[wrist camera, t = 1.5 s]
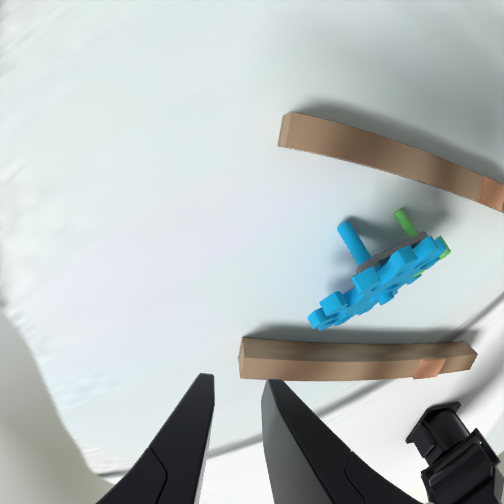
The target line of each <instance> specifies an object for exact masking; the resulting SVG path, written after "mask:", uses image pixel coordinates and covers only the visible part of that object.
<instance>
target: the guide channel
mask: <svg viewBox="0 0 504 504" xmlns="http://www.w3.org/2000/svg"><path fill="white" fill-rule="evenodd" d="M278 146H280V147H285V148H290V149H295V150H300V151H305V152H310V153H314V154H319V155H323V156H327V157H332V158H336V159H340V160H344V161H348V162H352V163H356V164H360V165H364V166H367V167H371V168H375V169H378V170H382V171H385V172H389V173H392V174H396V175H399V176H402V177H406V178H409V179H412V180H415V181H418V182H421V183H425V184H428V185H431V186H434V187H437V188H440V189H442V190H445V191H448V192H451V193H454V194H457V195H459V196H462V197H465V198H467V199H470V200H473V201H475V202H478V203H480V204H483V205H485V206H488V207H490V208H493V209H495V210H498V211H500V212H502V213H504V185H502V184H500V183H498V182H496V181H494V180H492V179H490V178H488V177H486V176H484V177H483V176H481V175H479V174H477V173H475V172H473V171H471V170H468V169H466V168H464V167H462V166H459V165H457V164H455V163H452V162H450V161H448V160H445V159H443V158H440V157H438V156H435V155H433V154H430V153H428V152H425V151H423V150H420V149H417V148H415V147H412V146H409V145H406V144H404V143H401V142H398V141H395V140H392V139H389V138H386V137H383V136H380V135H377V134H374V133H370V132H367V131H364V130H361V129H357V128H354V127H350V126H347V125H343V124H340V123H336V122H332V121H328V120H324V119H320V118H316V117H312V116H308V115H304V114H299V113H295V112H290V113H288V114H286V115H284V116H283V119H282V125H281V130H280V136H279V142H278ZM477 355H478V354H477V353H476V352H475V351H474V350H473V349H472V348H471V347H470V346H469V345H468V344H467V343H466V342H450V343H426V344H339V343H314V342H295V341H280V340H266V339H254V338H243V337H242V341H241V347H240V352H239V357H238V359H239V370H240V378H244V379H260V380H267V379H269V378H273V379H281V380H283V381H358V380H379V379H394V378H406V377H412V378H413V379H422V378H430V377H437V375H438V374H443V373H451V372H458V371H464V370H470V368H471V366H472V364H473V363H474V361H475V359H476V357H477Z"/></svg>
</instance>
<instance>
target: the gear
mask: <svg viewBox="0 0 504 504" xmlns="http://www.w3.org/2000/svg"><path fill="white" fill-rule="evenodd" d="M395 217H396V218H397V220H398V221H399V223H400V224H401V225H402V227H403V228H404V230H405V232H406V233H407V235H408V236H409V238H410V239H408V240H406V241H404V242H402V243H400V244H398V245H396V246H394V247H392V248H390V249H388V250H386V251H384V252H382V253H380V254H378V255H376V256H374V257H371V256H370V254H369V252H368V251H367V249H366V248H365V246H364V244H363V243H362V241H361V239H360V238H359V236H358V235H357V233H356V231H355V230H354V228H353V227H352V225H351V224H350V222H344V223H342V224H341V225H340V226H339V227H338V228H337V230H338V232H339V234H340V235H341V237H342V239H343V240H344V242H345V244H346V245H347V247H348V249H349V250H350V252H351V254H352V255H353V257H354V259H355V260H356V262H357V264H358V267H357V269H356V271H357V273H358V274H357V275H356V276H354V277H353V278H352V281H353V283H354V285H355V287H354V288H353V289H352V290H350V291H349V292H347V293H345V294H342V293H341V291H336V292H334V293H332V294H331V295H329V296H328V297H326V298H325V299H323V300H322V301H321V302H319V303H320V305H321V307H322V308H319V309H317V310H315V311H313V312H312V313H311V314H310V315H309V316H308V319H309V321H310V323H311V326H312V328H313V329H315V328H318V329H319V331H322V330H324V329H326V328H328V327H330V326H331V325H333V324H334V325H335V326H337V325H340V324H342V323H344V322H346V321H347V320H349V319H350V318H351V317H353V316H354V315H356V314H357V315H361V314H363V313H365V312H367V311H369V310H370V309H371V308H373V306H374V305H375V304H377V303H378V302H379V303H380V305H383V304H385V303H387V302H388V301H390V300H391V299H393V298H394V295H395V294H397V293H398V291H397V290H398V289H399V288H400V287H401V286H403V285H404V284H406V283H407V285H409V284H411V283H412V282H414V281H415V280H416V279H418V278H419V277H420V276H422V275H421V273H422V272H423V271H424V270H427V269H429V268H430V267H431V266H433V265H434V264H435V263H436V262H437V261H438V260H441V259H443V258H444V257H445V256H447V255H448V254H449V253H450V252H451V251H450V249H449V248H448V246H447V244H446V243H445V241H444V240H443V238H442V237H441V236H439V237H437V238H436V239H435V240H434V239H433V238H432V236H427V235H426V233H425V232H422V233H420V234H419V233H418V232H417V230H416V229H415V227H414V226H413V224H412V223H411V222H410V220H409V219H408V217H407V216H406V214H405V213H404V211H403V210H402V209H401V210H399V211H397V212H396V213H395ZM383 265H384V266H383ZM382 266H383V267H382Z"/></svg>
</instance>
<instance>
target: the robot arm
mask: <svg viewBox="0 0 504 504" xmlns="http://www.w3.org/2000/svg"><path fill="white" fill-rule="evenodd" d="M214 405H215V392H214V375H213V374H206V373H200V374H199V375H198V376H197V378H196V379H195V381H194V382H193V383H192V385H191V386H190V388H189V389H188V391H187V392H186V394H185V395H184V396H183V398H182V399H181V401H180V402H179V404H178V405H177V406H176V408H175V409H174V411H173V412H172V414H171V415H170V416H169V418H168V419H167V421H166V422H165V423H164V425H163V426H162V428H161V429H160V431H159V432H158V433H157V435H156V436H155V438H154V439H153V440H152V442H151V443H150V445H149V448H146V450H145V451H144V453H143V454H142V455H141V457H140V458H139V459H138V461H137V462H136V463H135V464H134V466H133V467H132V468H131V469H130V470H129V471H128V472H127V474H126V475H125V476H124V477H123V478H122V479H121V480H120V481H119V482H118V483H117V484H116V485H115V486H114V487H113V488H112V489H111V490H110V491H109V492H108V493H106V494H105V495H104V497H102V498H101V499H100V500H99V501H98V502H97V503H96V504H199V498H200V493H201V487H202V481H203V476H204V470H205V465H206V459H207V453H208V447H209V440H210V433H211V426H212V419H213V412H214ZM460 406H461V404H460V402H457V403H453V404H448V405H444V406H439V407H434V408H430V409H428V410H427V411H426V412H425V413H424V415H423V416H422V418H421V419H420V421H419V422H418V424H417V425H416V426H415V428H414V429H413V431H412V432H411V433H410V435H409V436H408V438H407V439H406V440H405V441H406V443H407V444H408V443H413V442H414V444H415V445H416V447H417V449H418V451H419V453H420V454H421V456H422V458H425V460H426V461H427V463H428V465H429V467H428V468H426V469H424V470H422V471H421V474H422V476H421V478H422V480H423V483H424V485H425V488H426V491H427V496H428V501H429V502H431V503H434V504H502V503H501V496H502V491H503V484H504V477H503V476H502V474H501V473H500V471H499V469H498V468H497V465H498V464H499V463H500V462H501V461H500V460H499V458H498V457H497V455H496V454H495V452H494V451H493V449H492V448H491V446H490V445H489V444H488V442H487V441H486V439H485V438H484V437H483V435H482V434H481V433H480V431H479V430H478V429H477V428H475V429H474V430H473V432H472V433H471V434H470V432H469V431H468V429H467V428H466V427H465V425H464V424H463V422H462V421H461V420H460V418H459V417H458V415H457V414H456V412H457V410H458V409H459V408H460ZM261 410H262V430H263V446H264V453H265V458H266V463H267V468H268V473H269V478H270V483H271V488H272V493H273V498H274V503H275V504H423V503H421V502H419V501H417V500H416V499H414V498H412V497H411V496H409V495H408V494H406V493H405V492H404V491H402V490H401V489H399V488H398V487H396V486H395V485H393V484H392V483H391V482H389V481H388V480H386V479H385V478H384V477H382V476H381V475H380V474H378V473H377V472H376V471H374V470H373V469H372V468H371V467H370V466H369V465H367V464H366V463H365V462H364V461H363V460H362V459H361V458H360V457H358V456H357V455H356V454H355V453H354V452H353V451H351V449H350V448H349V447H348V446H347V445H346V444H345V443H344V442H343V441H342V440H341V439H340V438H339V437H338V436H337V435H336V434H334V433H333V432H332V431H331V430H330V429H329V428H328V427H327V426H326V425H325V424H324V423H323V422H322V421H321V420H320V419H319V418H318V417H317V416H316V415H315V413H314V412H313V411H312V410H311V409H310V408H309V407H308V406H307V405H306V404H305V403H304V402H303V401H302V400H301V399H300V398H299V397H298V396H297V395H296V394H295V393H294V392H293V391H292V390H291V389H290V388H289V387H288V385H287V384H286V383H285V382H284V381H283V380H281V379H273V378H269V379H267V381H266V384H265V388H264V391H263V395H262V400H261ZM480 442H481V444H480Z"/></svg>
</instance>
